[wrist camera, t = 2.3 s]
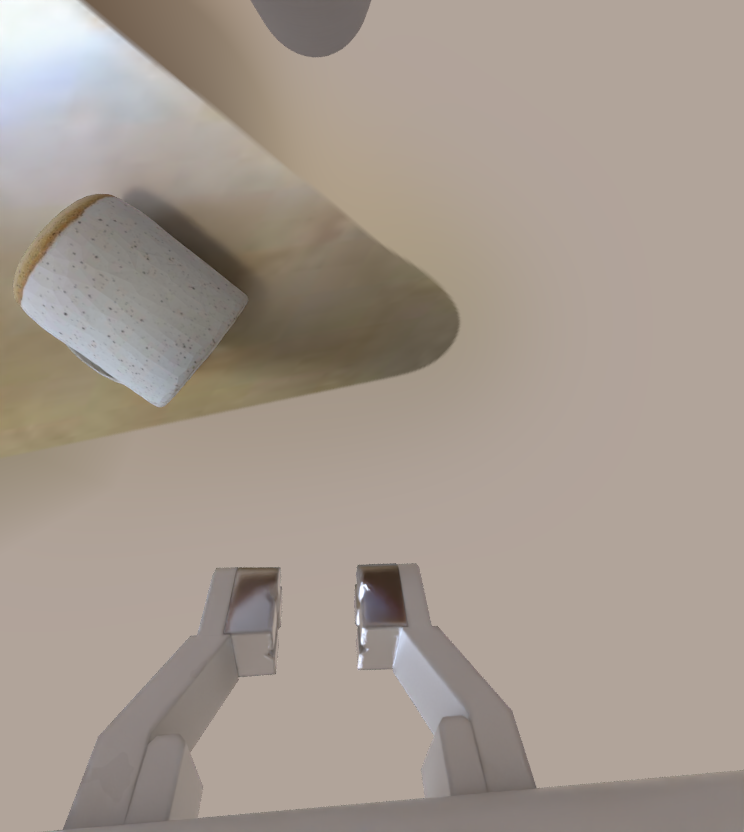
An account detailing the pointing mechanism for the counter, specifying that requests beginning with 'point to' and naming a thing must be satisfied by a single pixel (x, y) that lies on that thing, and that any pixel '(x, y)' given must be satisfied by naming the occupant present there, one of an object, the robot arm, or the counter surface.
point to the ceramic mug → (125, 296)
